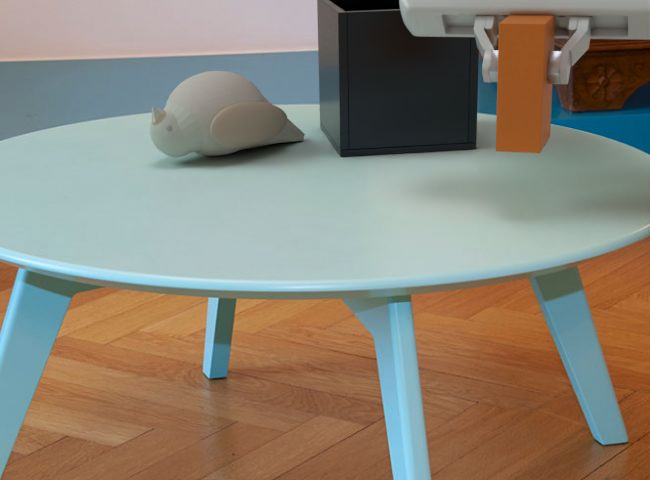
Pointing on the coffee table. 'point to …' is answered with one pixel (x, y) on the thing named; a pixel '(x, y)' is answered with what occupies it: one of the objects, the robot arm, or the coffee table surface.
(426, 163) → the coffee table surface
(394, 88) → the dark grey square box
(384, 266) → the coffee table surface
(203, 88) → the decorative bird
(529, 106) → the orange tall block
